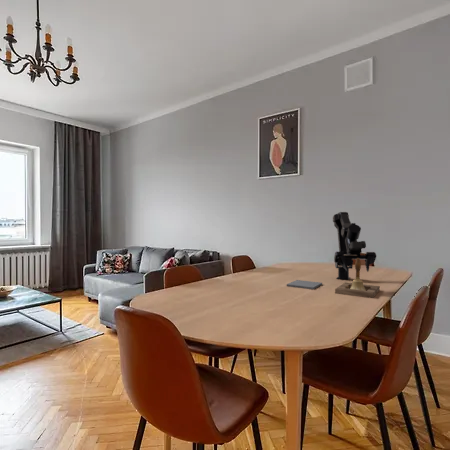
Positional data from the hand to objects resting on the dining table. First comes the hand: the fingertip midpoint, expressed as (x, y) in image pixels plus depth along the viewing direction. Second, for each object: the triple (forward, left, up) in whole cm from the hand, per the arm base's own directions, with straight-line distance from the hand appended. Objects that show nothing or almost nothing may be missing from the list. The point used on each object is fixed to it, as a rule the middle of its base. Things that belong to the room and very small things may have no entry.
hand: (357, 271), depth 148 cm
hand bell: (0, 0, -10) cm, 10 cm away
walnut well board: (0, 0, -10) cm, 10 cm away
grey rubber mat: (0, -26, -10) cm, 28 cm away
